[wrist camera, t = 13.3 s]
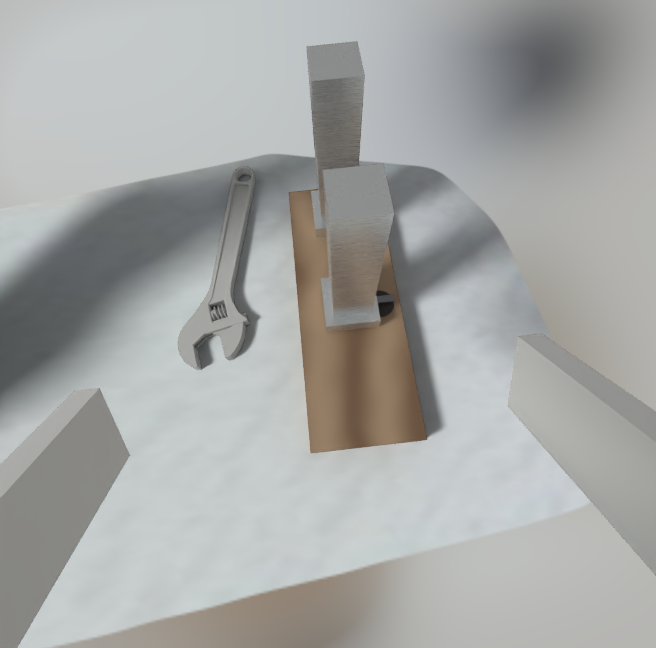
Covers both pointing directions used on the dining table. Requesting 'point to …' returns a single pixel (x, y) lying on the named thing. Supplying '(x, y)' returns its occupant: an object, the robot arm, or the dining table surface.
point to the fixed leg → (334, 113)
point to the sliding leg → (355, 245)
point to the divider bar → (351, 356)
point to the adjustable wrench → (223, 281)
